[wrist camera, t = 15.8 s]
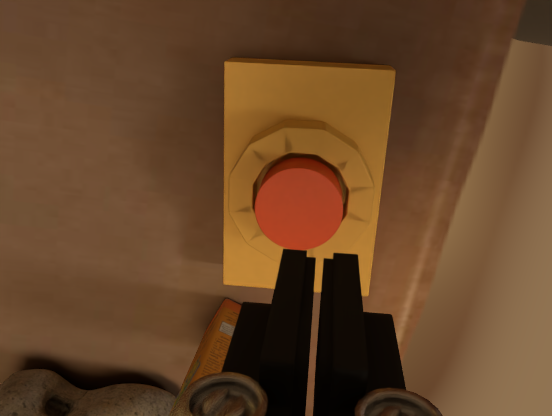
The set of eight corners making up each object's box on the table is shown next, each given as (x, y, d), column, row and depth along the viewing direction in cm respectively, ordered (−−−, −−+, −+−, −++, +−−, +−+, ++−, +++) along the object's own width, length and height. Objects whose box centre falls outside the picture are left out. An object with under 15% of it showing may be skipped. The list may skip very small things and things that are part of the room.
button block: (390, 65, 26) (401, 75, 22) (365, 277, 30) (370, 315, 26) (231, 57, 26) (216, 65, 22) (229, 266, 31) (216, 302, 27)
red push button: (345, 160, 24) (347, 170, 22) (338, 237, 25) (339, 253, 24) (260, 154, 24) (255, 164, 23) (257, 231, 26) (253, 247, 24)
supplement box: (222, 292, 31) (178, 412, 22) (271, 318, 32) (249, 447, 22) (199, 331, 32) (148, 461, 23) (247, 356, 33) (215, 493, 24)
